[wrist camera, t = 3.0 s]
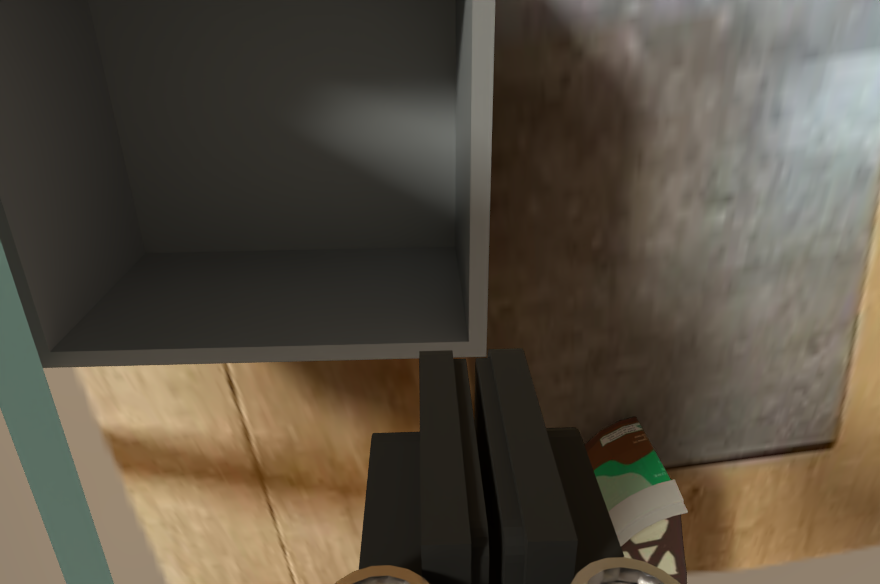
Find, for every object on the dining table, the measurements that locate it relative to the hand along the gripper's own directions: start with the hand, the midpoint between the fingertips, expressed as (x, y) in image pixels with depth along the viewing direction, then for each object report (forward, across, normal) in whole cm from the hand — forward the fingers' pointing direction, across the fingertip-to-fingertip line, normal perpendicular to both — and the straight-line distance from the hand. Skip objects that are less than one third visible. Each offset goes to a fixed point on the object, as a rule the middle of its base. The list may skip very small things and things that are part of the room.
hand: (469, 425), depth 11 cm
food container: (+29, -12, +27) cm, 41 cm away
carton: (+28, +8, 0) cm, 29 cm away
